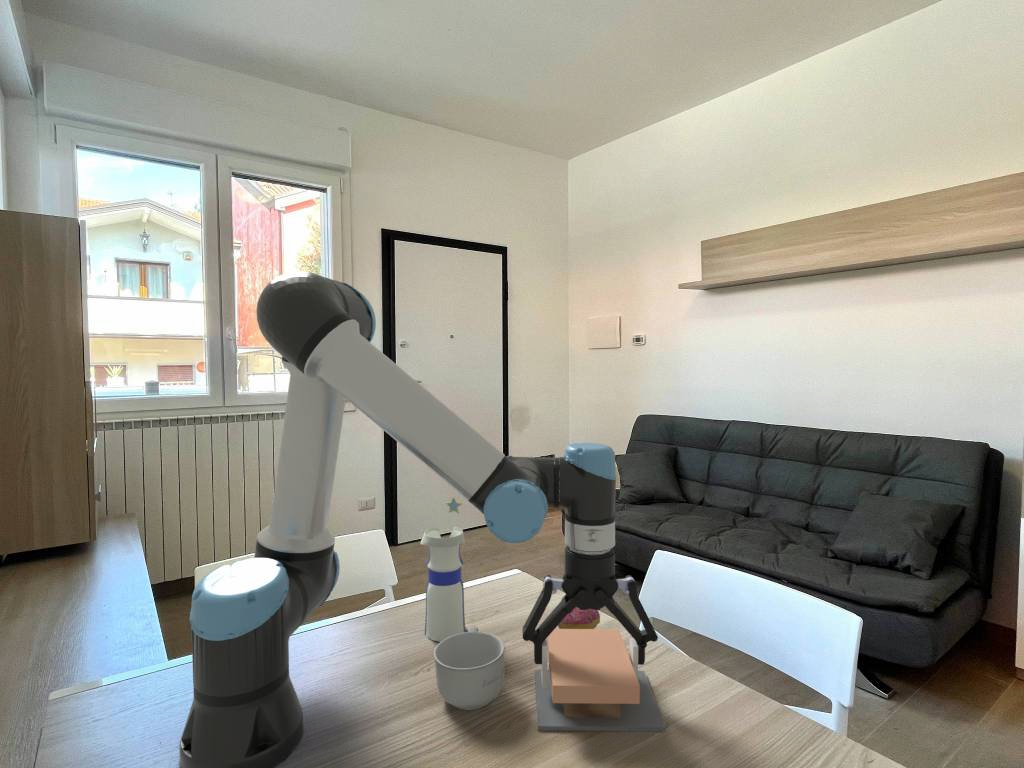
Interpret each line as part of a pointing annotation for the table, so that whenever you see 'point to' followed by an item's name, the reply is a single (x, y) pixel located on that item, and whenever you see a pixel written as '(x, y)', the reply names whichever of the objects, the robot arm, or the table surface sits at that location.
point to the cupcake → (580, 619)
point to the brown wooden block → (592, 710)
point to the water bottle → (444, 582)
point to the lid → (591, 667)
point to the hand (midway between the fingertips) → (588, 683)
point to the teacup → (470, 668)
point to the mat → (631, 719)
